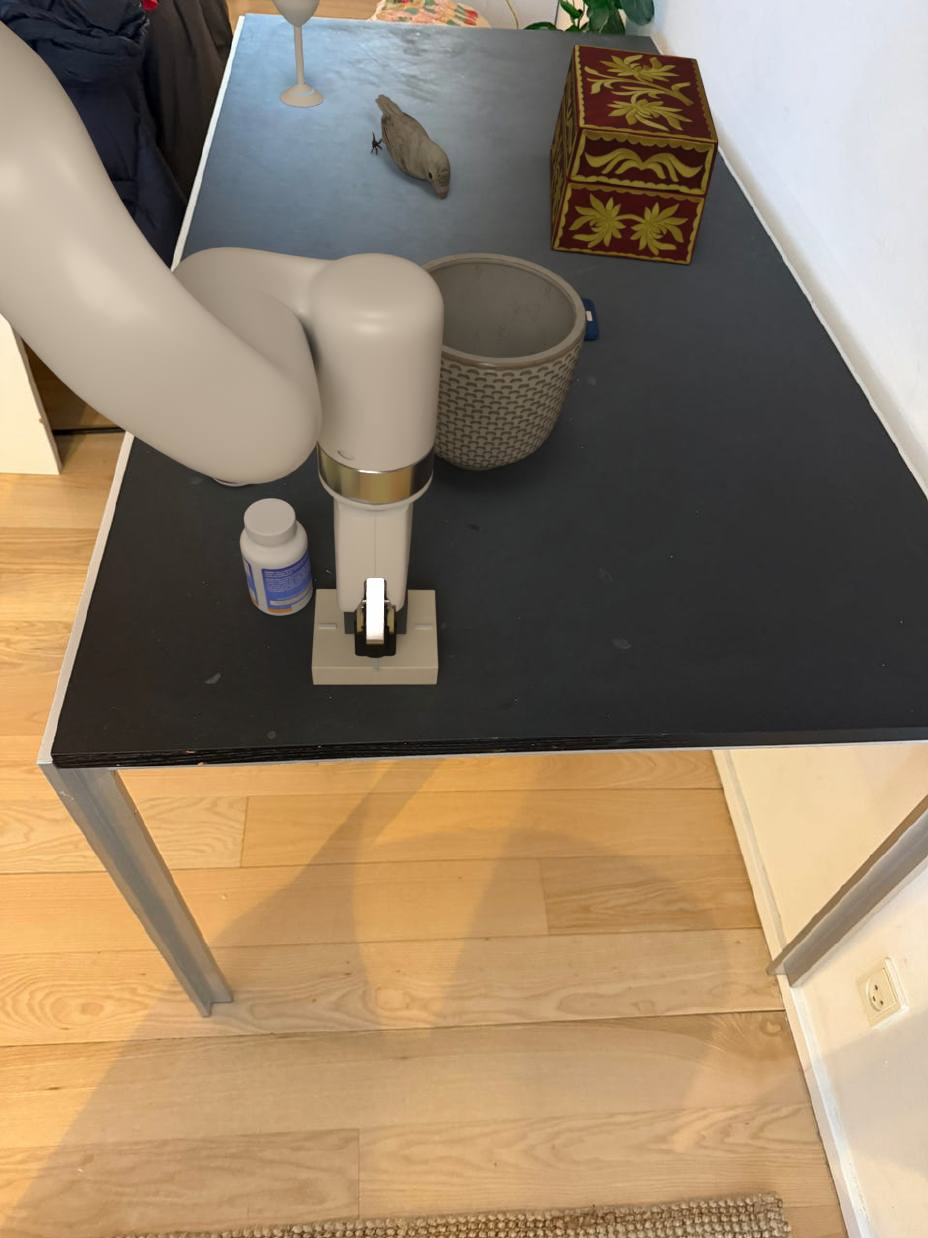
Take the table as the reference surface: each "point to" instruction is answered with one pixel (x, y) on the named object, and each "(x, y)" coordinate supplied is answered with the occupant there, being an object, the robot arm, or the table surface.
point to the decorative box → (631, 156)
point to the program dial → (398, 616)
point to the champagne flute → (299, 50)
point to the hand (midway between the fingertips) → (375, 619)
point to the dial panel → (345, 668)
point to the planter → (502, 356)
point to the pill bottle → (276, 558)
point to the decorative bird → (412, 146)
